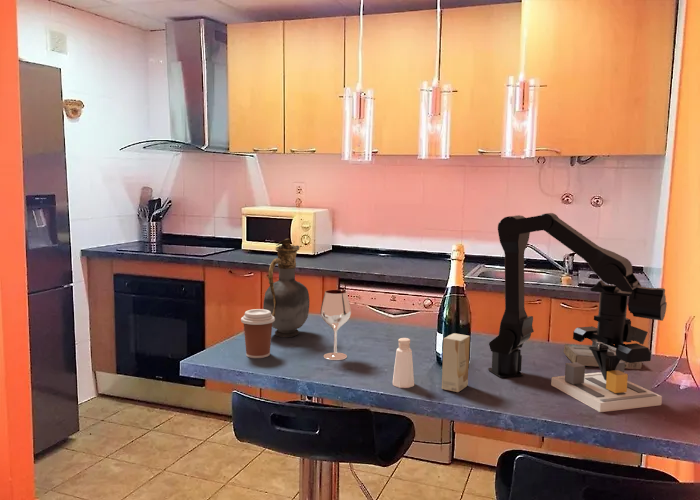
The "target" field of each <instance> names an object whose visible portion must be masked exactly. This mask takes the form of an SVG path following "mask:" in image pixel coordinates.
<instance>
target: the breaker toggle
mask: <svg viewBox="0 0 700 500" xmlns="http://www.w3.org/2000/svg"><path fill="white" fill-rule="evenodd" d="M628 376H629V375H628V373H626V372H625V371H624V372H621V371H619V370H614V371H607V378H606V389H608V390H610V391H612V392H614V393H621V392H627V381H628V379H629V378H628Z"/></svg>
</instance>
